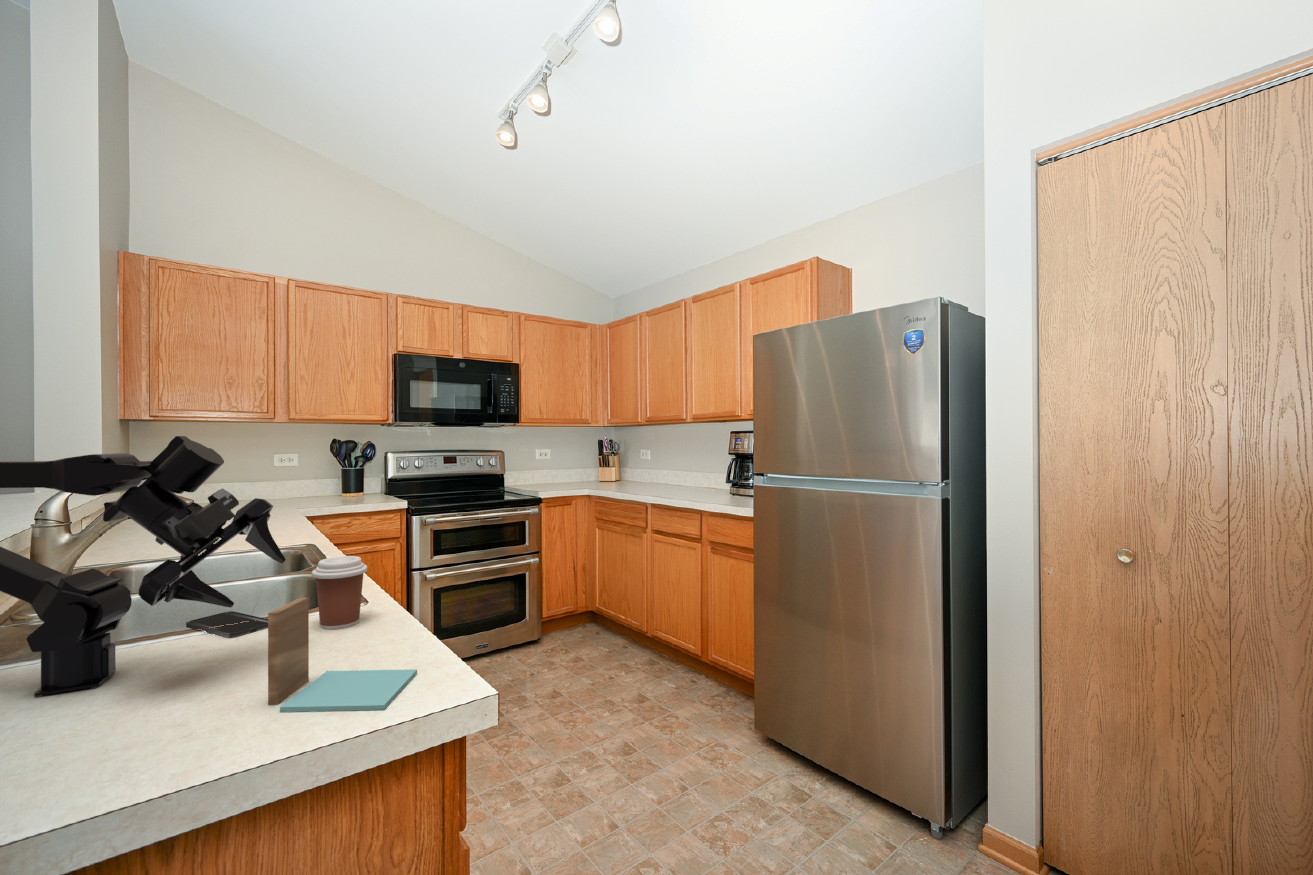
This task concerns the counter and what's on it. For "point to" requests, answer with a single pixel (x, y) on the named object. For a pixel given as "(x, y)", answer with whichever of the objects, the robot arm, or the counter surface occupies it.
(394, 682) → the mat
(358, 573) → the coffee cup
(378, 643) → the counter surface
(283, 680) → the walnut tile
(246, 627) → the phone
